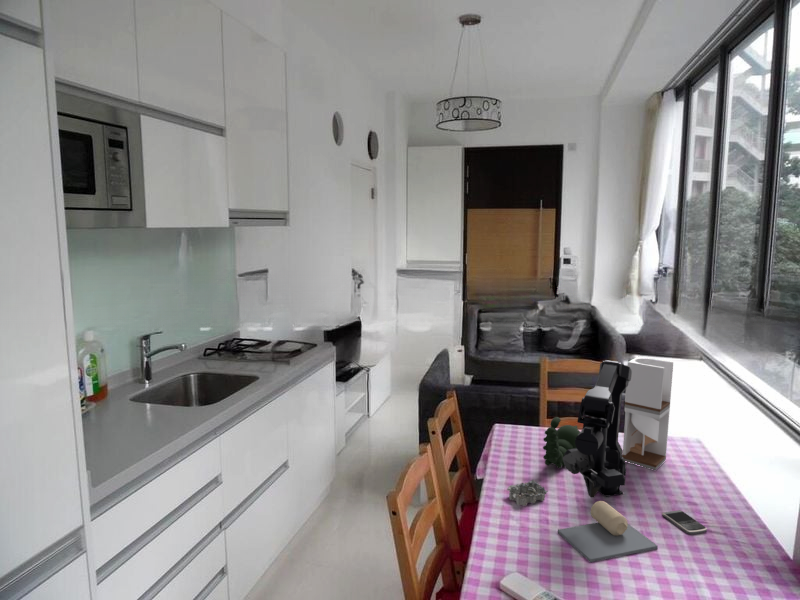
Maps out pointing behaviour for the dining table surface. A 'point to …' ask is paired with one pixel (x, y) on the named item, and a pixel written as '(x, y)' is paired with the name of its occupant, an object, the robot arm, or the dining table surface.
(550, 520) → the dining table surface
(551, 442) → the toy figurine
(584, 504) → the dining table surface
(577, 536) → the rubber mat
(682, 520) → the cell phone
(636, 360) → the display case
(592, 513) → the candle
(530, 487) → the grey jagged ring-shaped piece
